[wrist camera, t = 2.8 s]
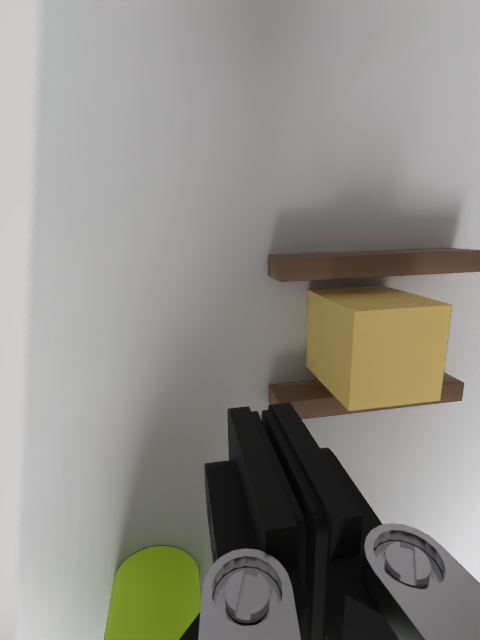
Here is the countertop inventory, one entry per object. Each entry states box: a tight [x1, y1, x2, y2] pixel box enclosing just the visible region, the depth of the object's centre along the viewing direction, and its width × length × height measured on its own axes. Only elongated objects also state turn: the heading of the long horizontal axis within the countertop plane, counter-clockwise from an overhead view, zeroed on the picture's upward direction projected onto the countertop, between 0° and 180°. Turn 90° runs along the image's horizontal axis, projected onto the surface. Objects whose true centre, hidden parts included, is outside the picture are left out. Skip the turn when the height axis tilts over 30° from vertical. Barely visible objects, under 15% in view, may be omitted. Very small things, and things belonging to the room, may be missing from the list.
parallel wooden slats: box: [268, 248, 480, 419], centre depth 22 cm, size 9×12×2 cm
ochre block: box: [306, 286, 452, 411], centre depth 20 cm, size 5×5×6 cm
